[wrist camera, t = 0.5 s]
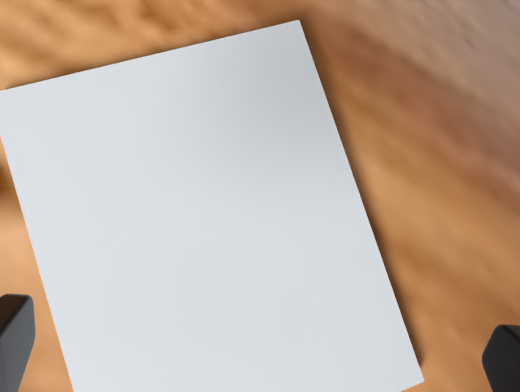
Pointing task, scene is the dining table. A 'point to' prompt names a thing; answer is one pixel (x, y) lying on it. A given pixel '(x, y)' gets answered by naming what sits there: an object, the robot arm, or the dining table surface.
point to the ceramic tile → (204, 225)
